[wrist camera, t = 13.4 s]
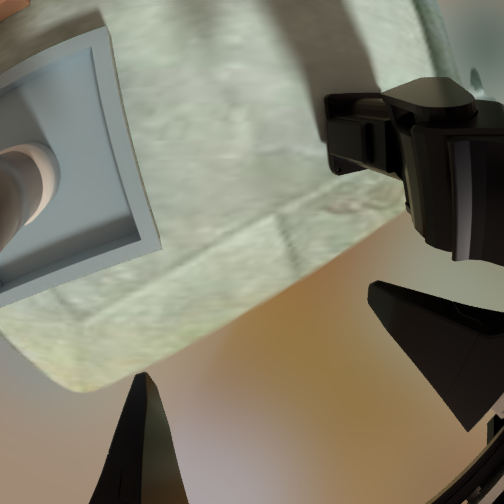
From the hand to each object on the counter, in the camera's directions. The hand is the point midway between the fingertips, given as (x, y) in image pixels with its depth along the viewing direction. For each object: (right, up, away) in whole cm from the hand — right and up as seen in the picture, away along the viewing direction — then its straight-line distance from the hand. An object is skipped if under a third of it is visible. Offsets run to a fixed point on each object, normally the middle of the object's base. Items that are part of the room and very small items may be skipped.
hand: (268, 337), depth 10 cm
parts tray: (-15, +8, +4) cm, 17 cm away
